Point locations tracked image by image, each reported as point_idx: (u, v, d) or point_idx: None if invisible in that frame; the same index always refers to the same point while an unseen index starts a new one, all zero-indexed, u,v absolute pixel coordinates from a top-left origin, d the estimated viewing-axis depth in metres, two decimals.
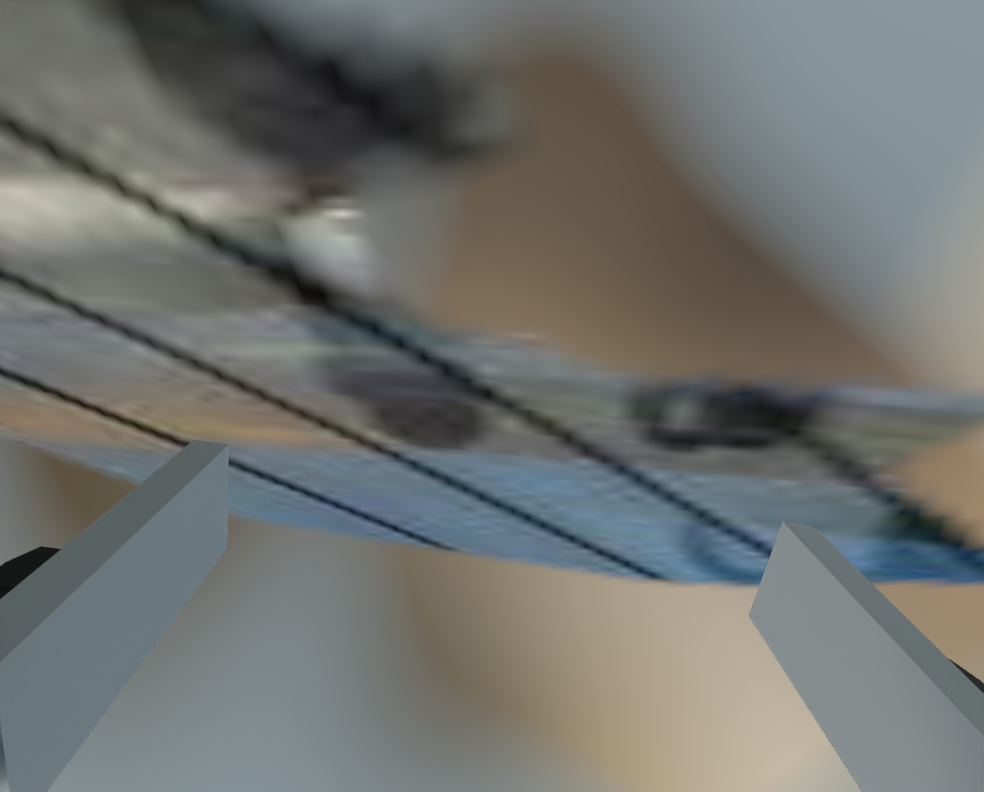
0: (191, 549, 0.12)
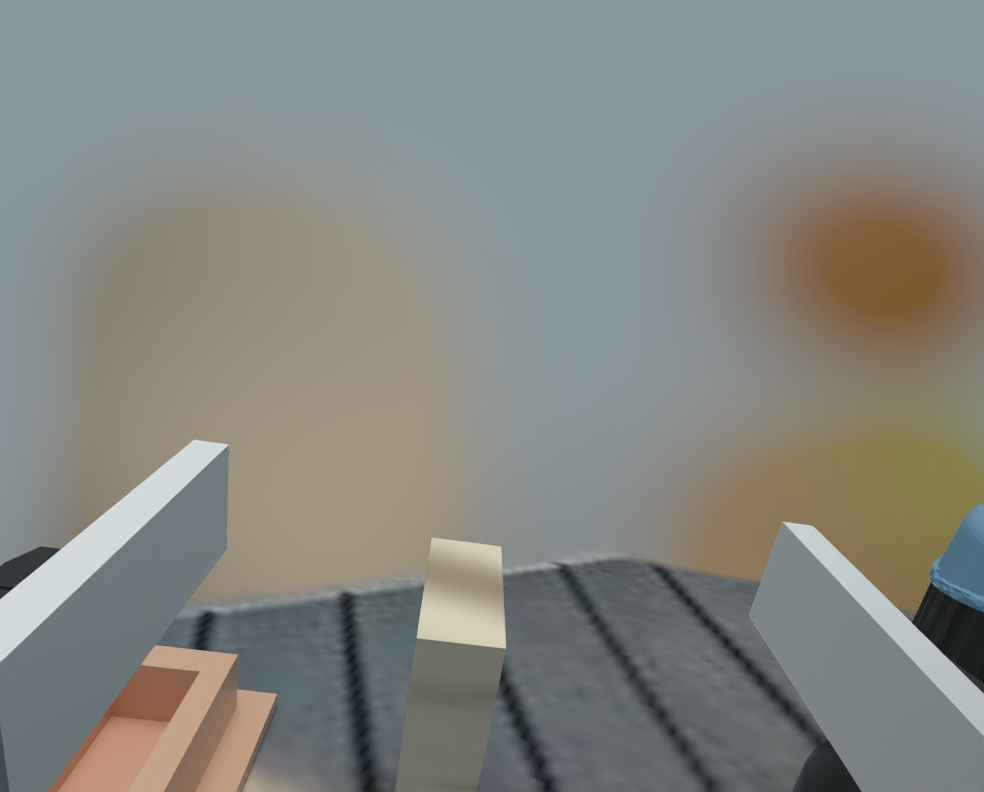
0: (191, 549, 0.12)
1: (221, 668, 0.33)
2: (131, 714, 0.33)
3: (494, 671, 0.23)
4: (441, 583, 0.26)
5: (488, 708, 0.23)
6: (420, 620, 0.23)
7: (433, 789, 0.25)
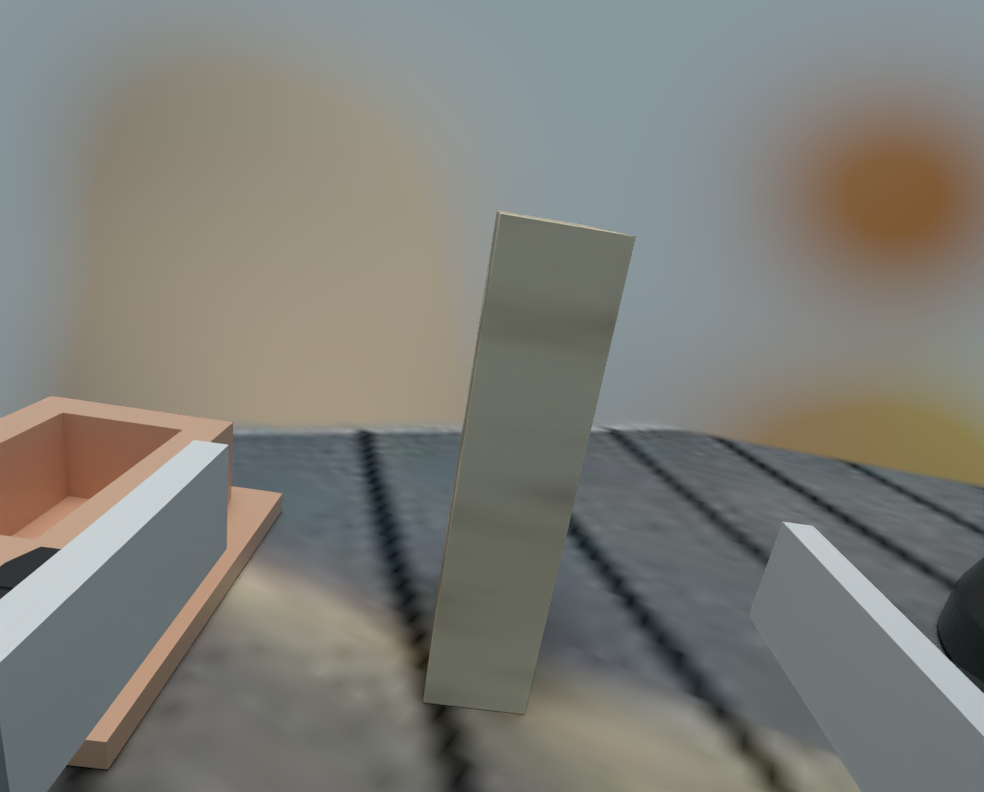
0: (191, 549, 0.12)
1: (211, 430, 0.25)
2: (94, 493, 0.26)
3: (615, 280, 0.15)
4: (521, 215, 0.18)
5: (601, 350, 0.16)
6: (501, 213, 0.16)
7: (511, 496, 0.17)
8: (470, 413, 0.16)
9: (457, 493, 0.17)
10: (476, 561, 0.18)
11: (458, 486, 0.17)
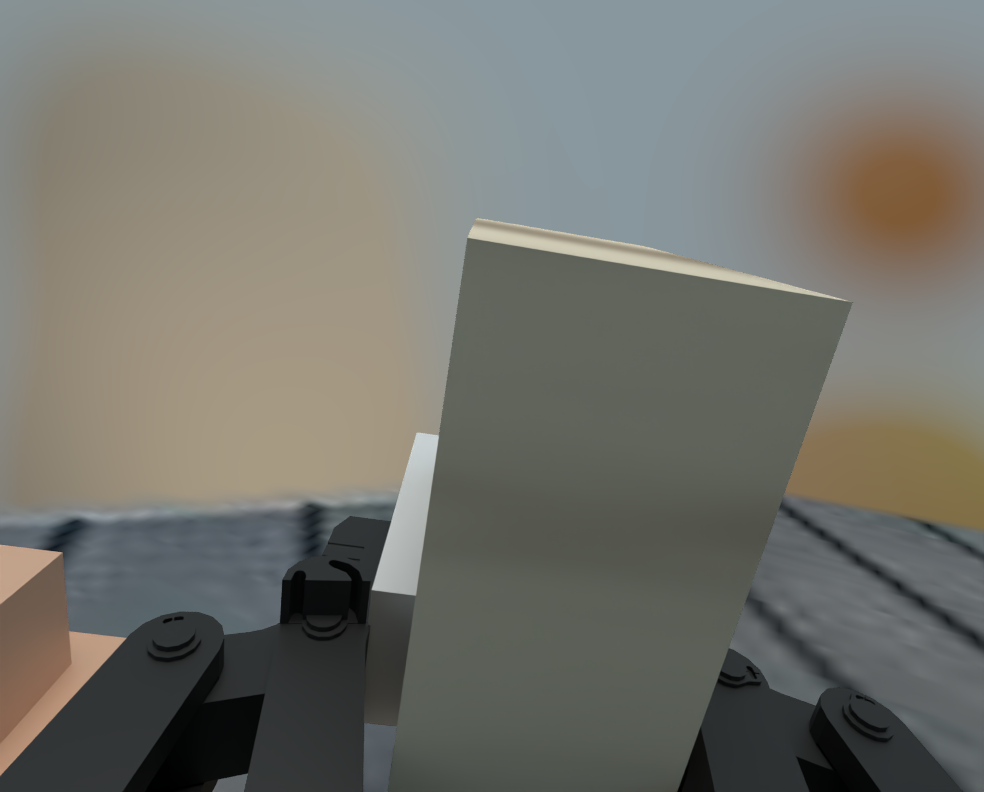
0: None
1: (14, 574, 0.15)
2: None
3: (782, 418, 0.06)
4: (523, 232, 0.08)
5: (731, 585, 0.06)
6: (474, 232, 0.06)
7: None
8: (401, 721, 0.07)
9: None
10: None
11: None
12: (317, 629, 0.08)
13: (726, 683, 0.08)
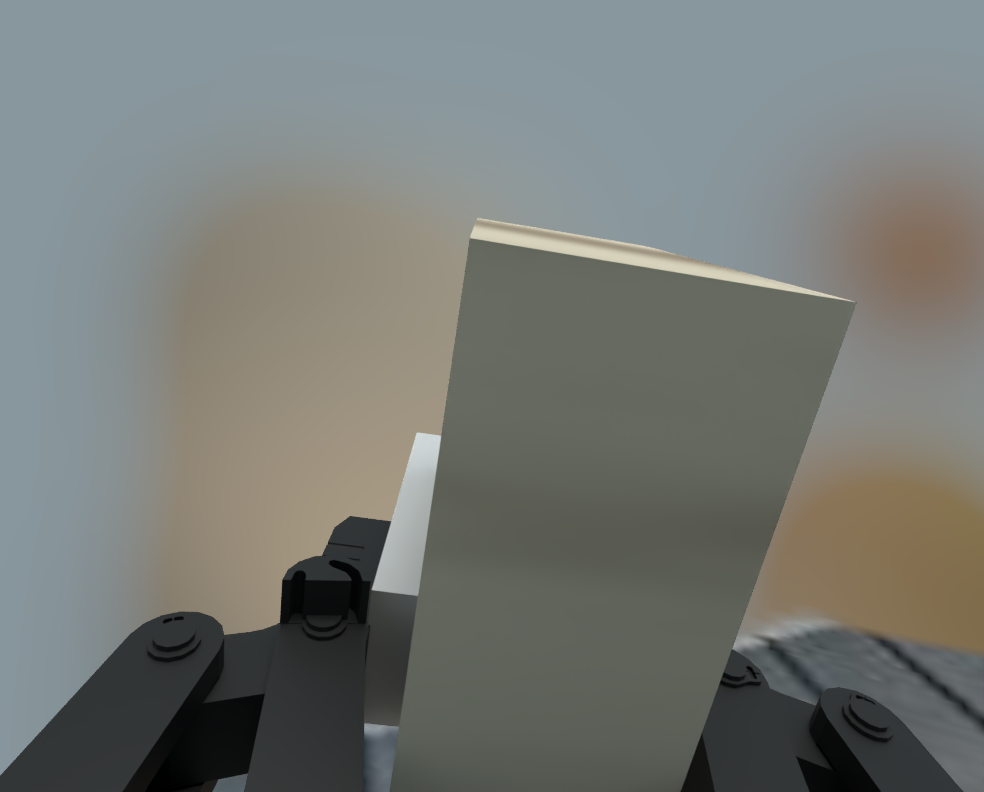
0: None
1: None
2: None
3: (786, 419, 0.06)
4: (525, 232, 0.08)
5: (734, 586, 0.06)
6: (476, 232, 0.06)
7: None
8: (403, 722, 0.07)
9: None
10: None
11: None
12: (317, 629, 0.08)
13: (726, 683, 0.08)
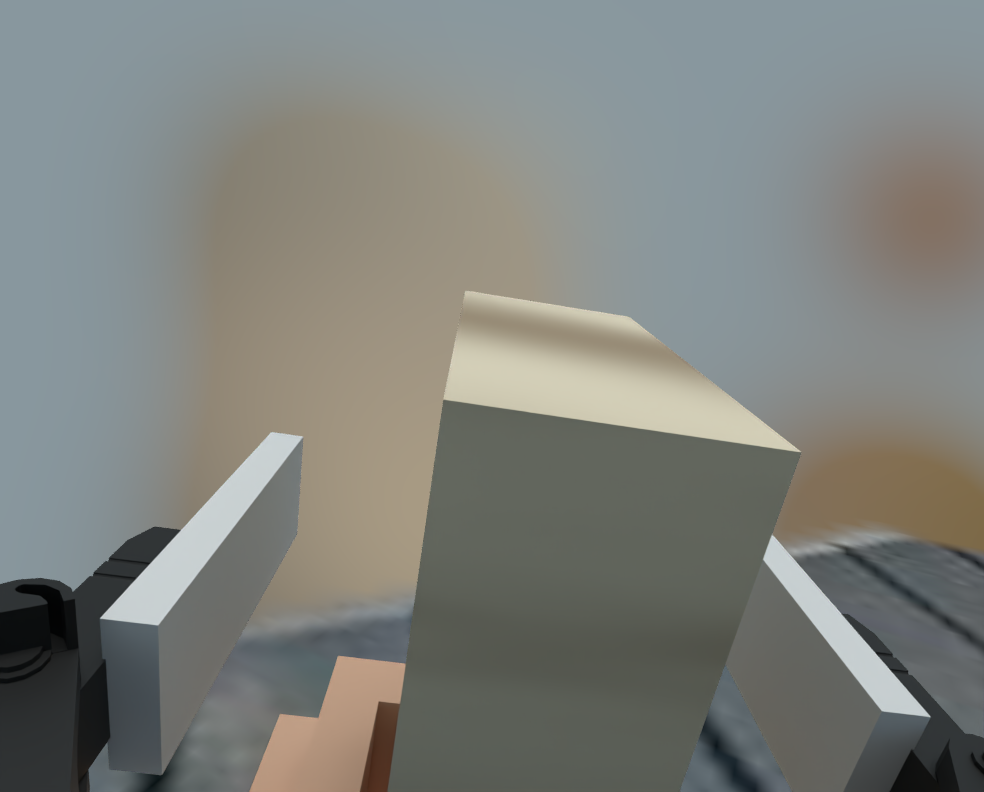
0: (275, 532, 0.13)
1: None
2: None
3: (739, 552, 0.06)
4: (506, 331, 0.09)
5: (694, 695, 0.07)
6: (453, 370, 0.06)
7: None
8: None
9: None
10: None
11: None
12: (6, 670, 0.07)
13: None
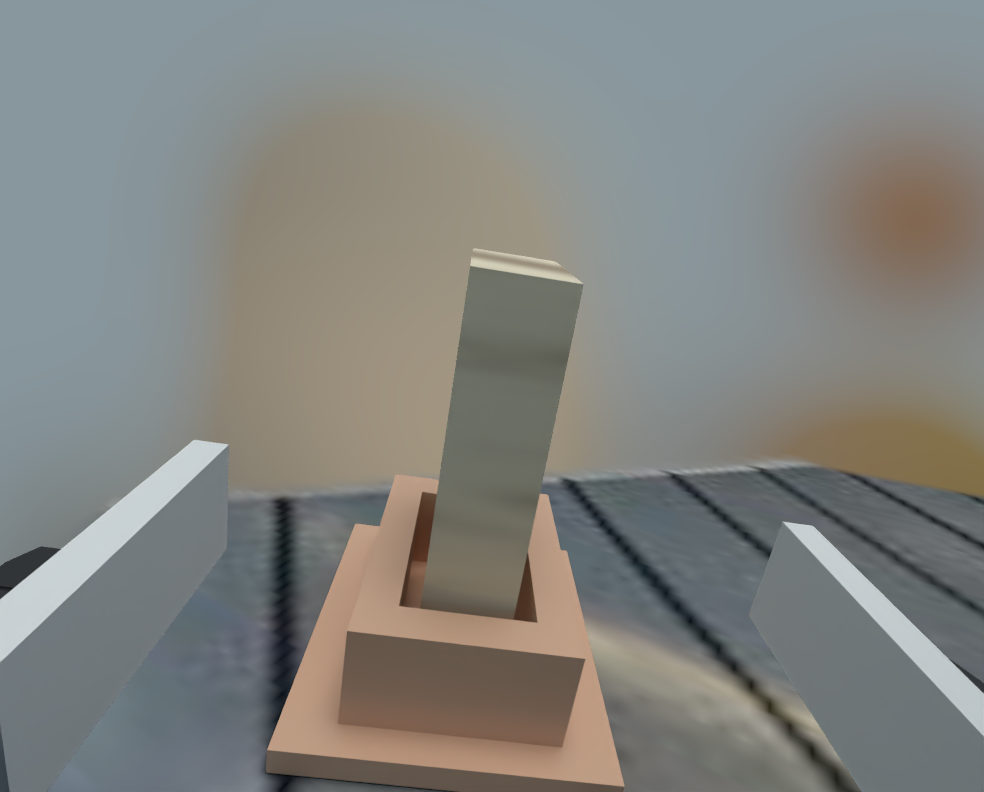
0: (191, 549, 0.12)
1: (541, 504, 0.29)
2: None
3: (567, 320, 0.18)
4: (492, 258, 0.21)
5: (557, 378, 0.19)
6: (472, 262, 0.18)
7: (483, 501, 0.20)
8: (447, 431, 0.19)
9: (437, 499, 0.20)
10: (454, 558, 0.21)
11: (437, 493, 0.20)
12: None
13: None
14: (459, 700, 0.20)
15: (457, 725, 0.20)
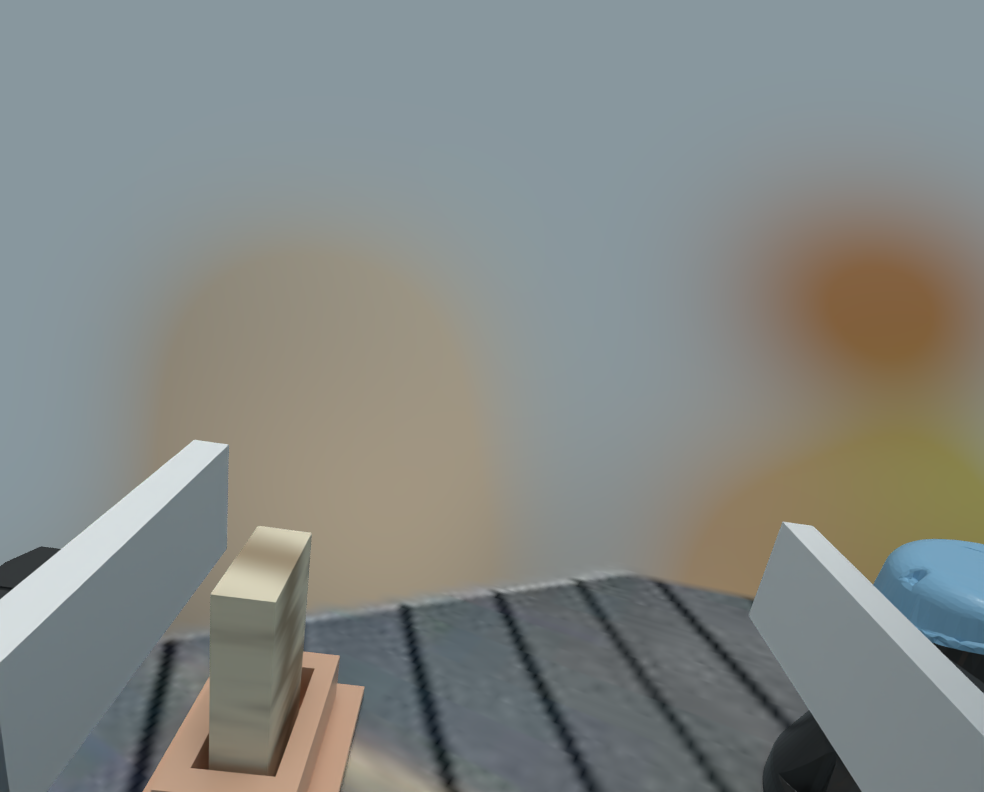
0: (191, 549, 0.12)
1: (329, 666, 0.43)
2: None
3: (269, 619, 0.32)
4: (249, 558, 0.35)
5: (269, 647, 0.33)
6: (219, 582, 0.32)
7: (237, 708, 0.34)
8: (210, 673, 0.33)
9: (209, 707, 0.34)
10: (225, 738, 0.35)
11: (209, 704, 0.34)
12: None
13: None
14: None
15: None
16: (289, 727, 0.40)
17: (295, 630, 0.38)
